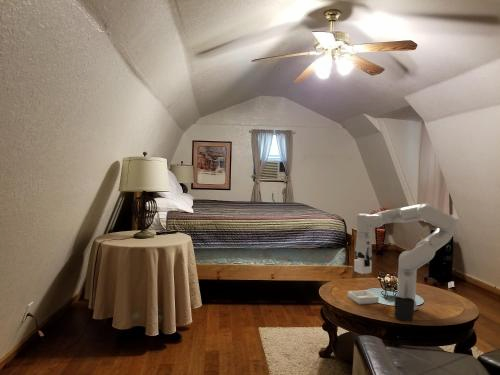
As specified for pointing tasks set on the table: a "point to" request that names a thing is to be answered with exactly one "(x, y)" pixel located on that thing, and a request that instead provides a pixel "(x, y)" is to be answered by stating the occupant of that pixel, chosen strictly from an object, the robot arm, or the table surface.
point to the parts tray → (363, 297)
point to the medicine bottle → (362, 265)
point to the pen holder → (404, 308)
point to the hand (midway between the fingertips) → (362, 264)
